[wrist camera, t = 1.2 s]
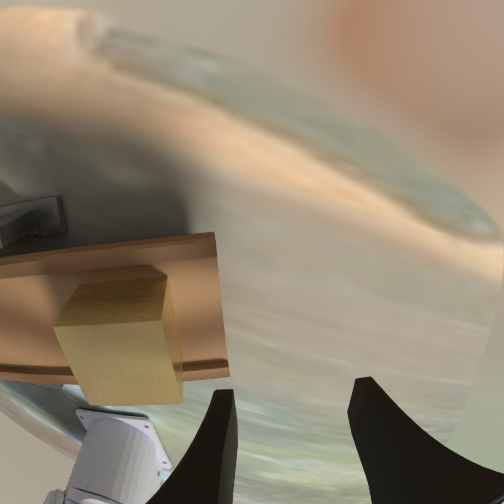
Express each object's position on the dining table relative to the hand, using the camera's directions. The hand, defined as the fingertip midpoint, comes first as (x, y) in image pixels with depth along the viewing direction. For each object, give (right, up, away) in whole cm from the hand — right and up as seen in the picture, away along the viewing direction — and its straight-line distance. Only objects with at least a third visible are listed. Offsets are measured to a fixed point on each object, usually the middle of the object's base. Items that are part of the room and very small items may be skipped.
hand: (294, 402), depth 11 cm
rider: (-8, +2, +5) cm, 10 cm away
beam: (-18, +2, +8) cm, 20 cm away
